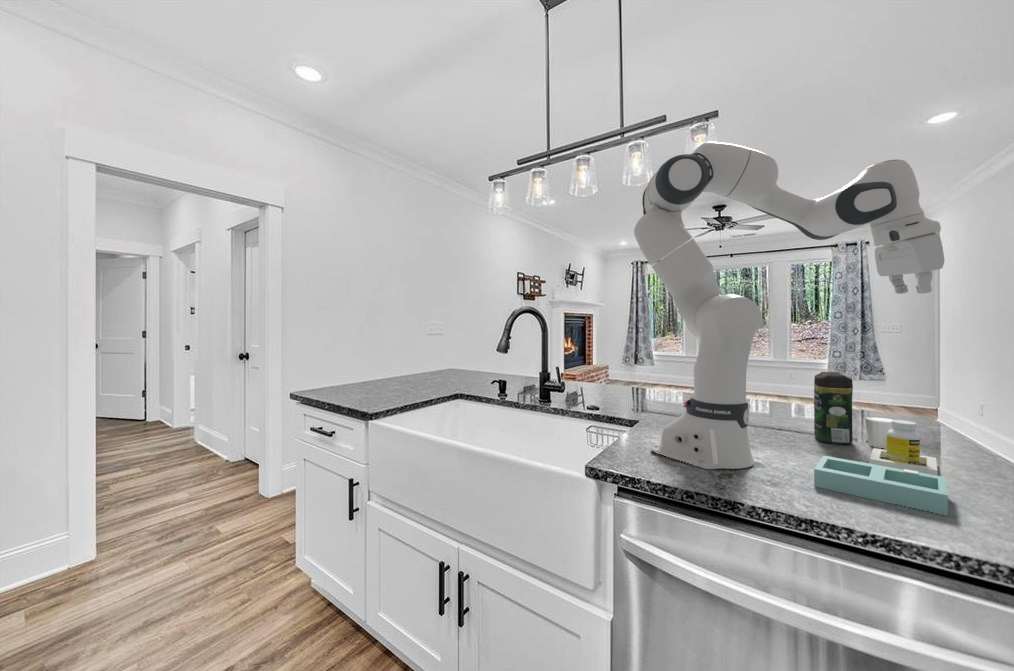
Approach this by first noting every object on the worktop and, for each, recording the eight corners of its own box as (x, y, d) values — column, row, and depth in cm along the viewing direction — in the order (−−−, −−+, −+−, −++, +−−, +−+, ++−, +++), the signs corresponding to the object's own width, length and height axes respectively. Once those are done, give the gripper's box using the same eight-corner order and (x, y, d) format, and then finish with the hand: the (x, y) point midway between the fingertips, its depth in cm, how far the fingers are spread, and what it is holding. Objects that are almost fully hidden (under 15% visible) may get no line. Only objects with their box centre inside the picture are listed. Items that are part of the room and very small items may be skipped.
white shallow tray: (869, 465, 92) (869, 458, 92) (873, 454, 99) (873, 448, 99) (937, 477, 84) (937, 470, 84) (935, 464, 91) (936, 457, 91)
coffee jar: (811, 434, 117) (811, 369, 116) (846, 437, 113) (847, 370, 112) (817, 443, 108) (818, 373, 108) (856, 447, 104) (856, 375, 104)
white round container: (908, 451, 101) (909, 423, 101) (876, 449, 102) (876, 422, 102) (888, 442, 108) (889, 416, 107) (858, 441, 109) (859, 415, 109)
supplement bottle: (912, 470, 88) (912, 425, 88) (881, 463, 93) (881, 420, 93) (924, 466, 90) (925, 423, 90) (893, 459, 95) (894, 417, 95)
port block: (814, 486, 81) (814, 468, 81) (823, 471, 89) (823, 454, 88) (947, 516, 68) (947, 494, 68) (944, 495, 76) (945, 475, 76)
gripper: (862, 242, 102) (874, 296, 102) (904, 230, 84) (919, 296, 84) (894, 235, 100) (906, 290, 100) (945, 221, 81) (960, 288, 81)
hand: (912, 293), depth 92 cm, fingers open, 8 cm apart
